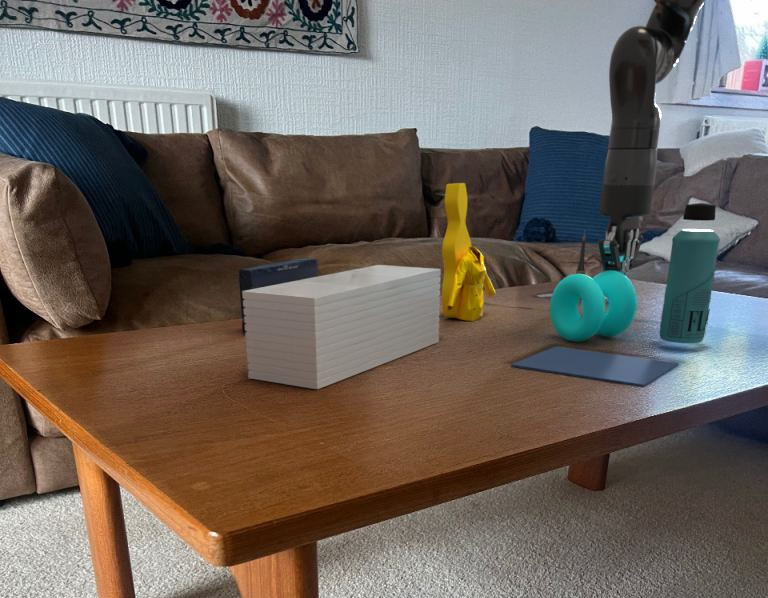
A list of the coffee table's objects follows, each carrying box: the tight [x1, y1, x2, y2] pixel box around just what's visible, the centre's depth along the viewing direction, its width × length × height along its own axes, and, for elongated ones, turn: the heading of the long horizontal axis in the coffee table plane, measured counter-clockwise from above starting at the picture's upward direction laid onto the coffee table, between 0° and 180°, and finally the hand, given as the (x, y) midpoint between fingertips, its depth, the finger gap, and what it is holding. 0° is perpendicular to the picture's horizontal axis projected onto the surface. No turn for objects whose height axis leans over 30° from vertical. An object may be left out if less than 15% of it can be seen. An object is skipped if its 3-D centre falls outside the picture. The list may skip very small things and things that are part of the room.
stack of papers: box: [242, 264, 442, 390], centre depth 107 cm, size 32×11×11 cm, turn 149°
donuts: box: [549, 270, 638, 343], centre depth 120 cm, size 10×10×10 cm
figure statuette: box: [441, 182, 497, 322], centre depth 134 cm, size 18×8×22 cm, turn 148°
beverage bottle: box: [659, 202, 721, 344], centre depth 111 cm, size 6×7×20 cm
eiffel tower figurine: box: [536, 230, 608, 301], centre depth 154 cm, size 15×10×13 cm
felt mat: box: [510, 346, 680, 388], centre depth 105 cm, size 18×14×1 cm
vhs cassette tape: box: [238, 257, 319, 334], centre depth 130 cm, size 18×3×10 cm, turn 148°
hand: (614, 298), depth 125 cm, fingers closed
